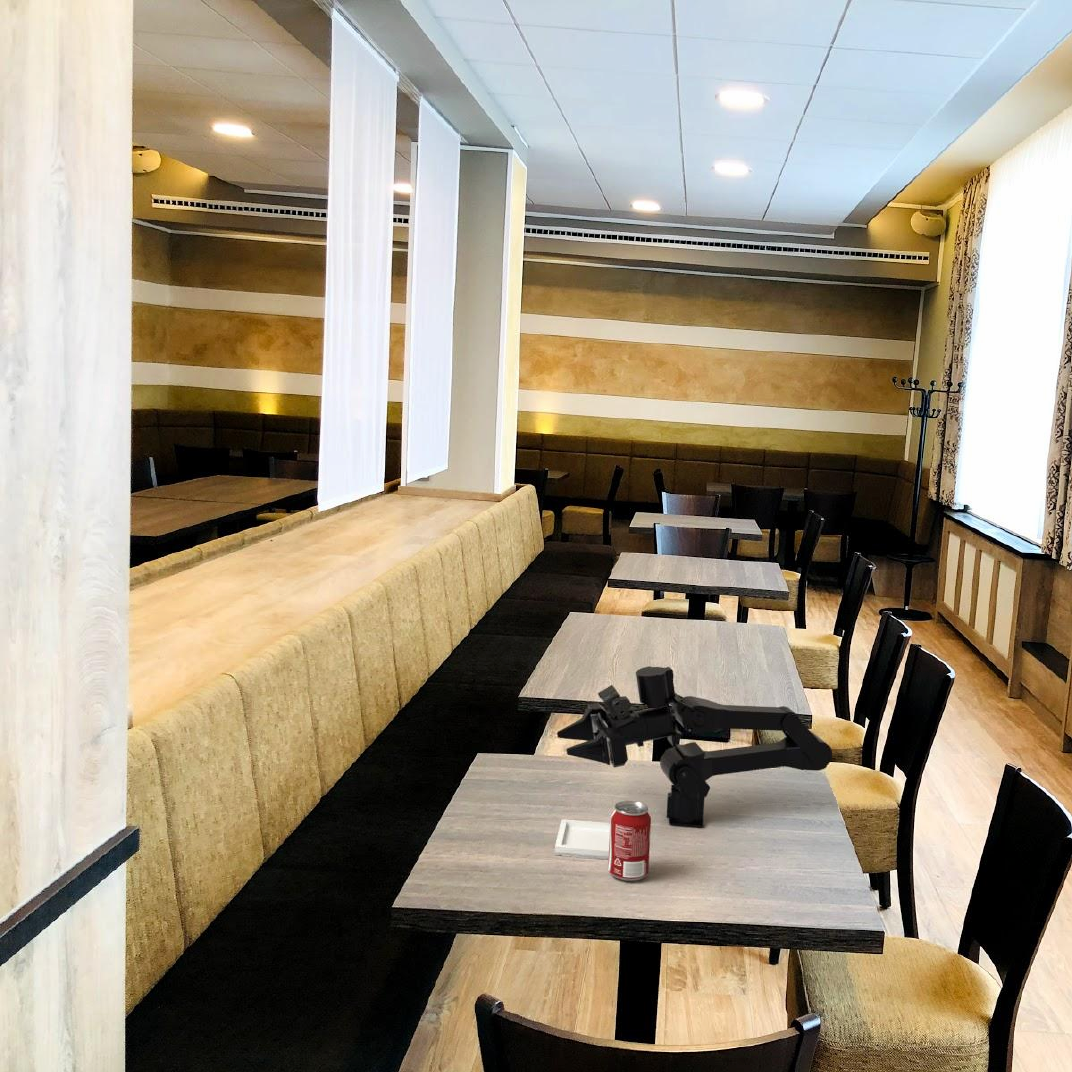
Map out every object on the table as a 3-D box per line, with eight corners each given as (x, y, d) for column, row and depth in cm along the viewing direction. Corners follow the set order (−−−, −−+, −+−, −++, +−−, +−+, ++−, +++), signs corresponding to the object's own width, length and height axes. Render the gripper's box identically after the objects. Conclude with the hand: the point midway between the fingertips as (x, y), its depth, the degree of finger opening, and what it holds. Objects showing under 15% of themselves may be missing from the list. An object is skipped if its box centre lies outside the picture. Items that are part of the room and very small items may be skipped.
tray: (626, 832, 203) (626, 824, 203) (623, 861, 191) (623, 852, 191) (561, 827, 205) (561, 819, 204) (554, 855, 193) (554, 846, 192)
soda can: (649, 884, 183) (653, 816, 181) (608, 883, 183) (612, 814, 181) (646, 866, 190) (650, 800, 188) (607, 864, 190) (610, 798, 188)
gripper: (625, 670, 213) (546, 687, 211) (650, 700, 195) (564, 717, 193) (633, 725, 215) (555, 741, 213) (659, 759, 197) (574, 777, 195)
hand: (561, 743), depth 203 cm, fingers open, 9 cm apart
